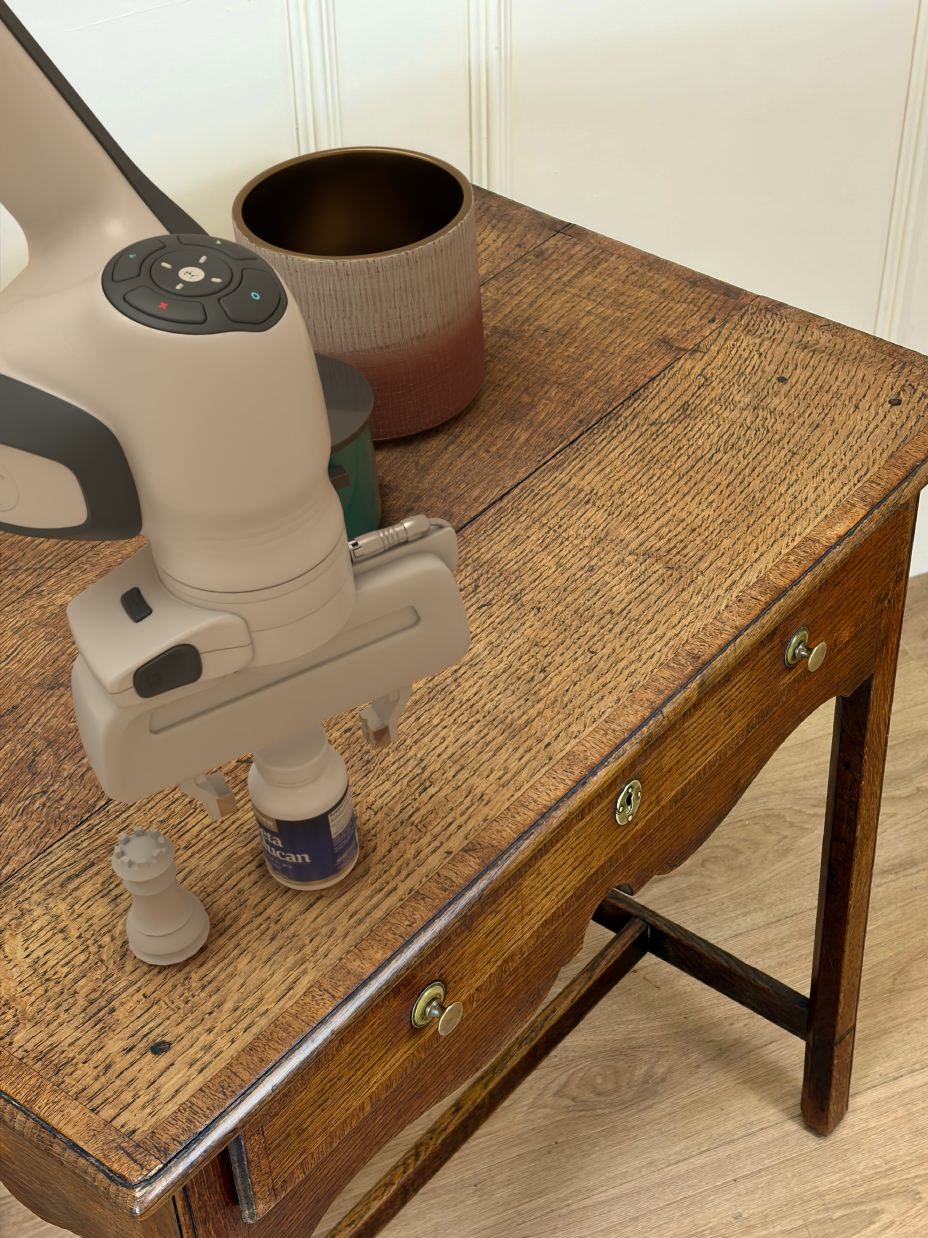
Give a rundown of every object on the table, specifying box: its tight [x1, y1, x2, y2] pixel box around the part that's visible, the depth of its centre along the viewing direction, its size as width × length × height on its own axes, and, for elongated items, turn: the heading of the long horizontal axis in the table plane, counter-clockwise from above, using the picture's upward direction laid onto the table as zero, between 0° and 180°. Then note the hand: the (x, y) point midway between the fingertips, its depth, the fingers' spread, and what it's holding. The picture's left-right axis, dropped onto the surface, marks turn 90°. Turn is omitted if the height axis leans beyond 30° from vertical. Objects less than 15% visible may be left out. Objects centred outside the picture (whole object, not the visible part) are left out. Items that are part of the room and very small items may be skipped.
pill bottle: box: [247, 723, 360, 892], centre depth 81 cm, size 5×5×10 cm
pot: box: [314, 354, 383, 540], centre depth 103 cm, size 13×15×10 cm
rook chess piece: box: [110, 824, 211, 966], centre depth 78 cm, size 4×4×8 cm
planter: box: [231, 145, 486, 443], centre depth 112 cm, size 18×18×16 cm
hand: (302, 773), depth 80 cm, fingers open, 8 cm apart
